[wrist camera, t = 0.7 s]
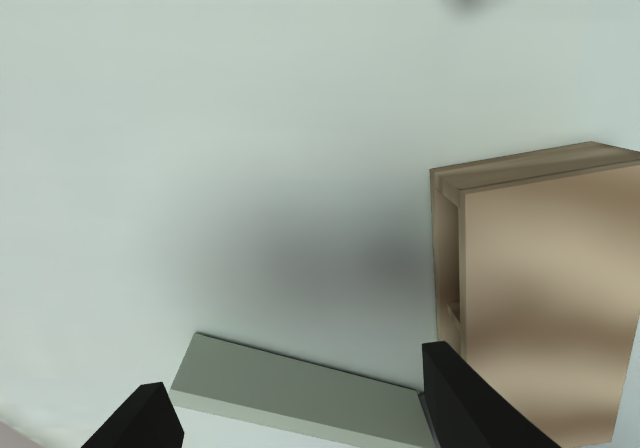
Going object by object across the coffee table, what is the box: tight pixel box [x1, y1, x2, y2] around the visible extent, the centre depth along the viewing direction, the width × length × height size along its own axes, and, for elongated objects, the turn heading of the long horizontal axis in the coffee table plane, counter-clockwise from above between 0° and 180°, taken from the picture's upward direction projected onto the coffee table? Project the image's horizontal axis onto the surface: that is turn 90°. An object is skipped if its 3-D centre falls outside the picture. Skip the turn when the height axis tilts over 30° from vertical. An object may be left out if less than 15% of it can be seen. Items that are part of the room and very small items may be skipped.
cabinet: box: [430, 141, 640, 448], centre depth 19 cm, size 16×8×4 cm, turn 9°
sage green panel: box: [168, 333, 441, 448], centre depth 20 cm, size 16×1×4 cm, turn 69°
